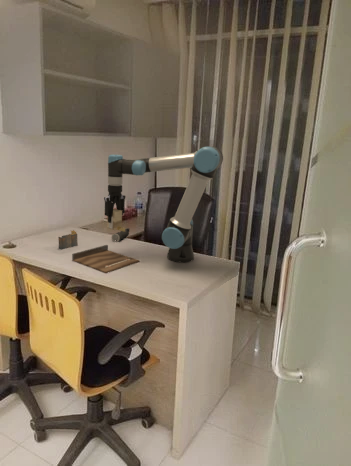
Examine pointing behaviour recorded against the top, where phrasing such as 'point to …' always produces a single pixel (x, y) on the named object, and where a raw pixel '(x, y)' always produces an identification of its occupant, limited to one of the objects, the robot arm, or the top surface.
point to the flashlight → (119, 236)
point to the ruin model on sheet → (68, 240)
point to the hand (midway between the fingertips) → (114, 227)
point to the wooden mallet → (117, 221)
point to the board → (103, 259)
